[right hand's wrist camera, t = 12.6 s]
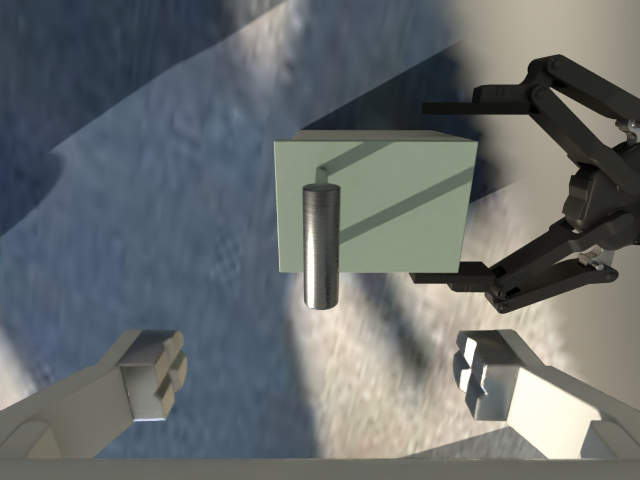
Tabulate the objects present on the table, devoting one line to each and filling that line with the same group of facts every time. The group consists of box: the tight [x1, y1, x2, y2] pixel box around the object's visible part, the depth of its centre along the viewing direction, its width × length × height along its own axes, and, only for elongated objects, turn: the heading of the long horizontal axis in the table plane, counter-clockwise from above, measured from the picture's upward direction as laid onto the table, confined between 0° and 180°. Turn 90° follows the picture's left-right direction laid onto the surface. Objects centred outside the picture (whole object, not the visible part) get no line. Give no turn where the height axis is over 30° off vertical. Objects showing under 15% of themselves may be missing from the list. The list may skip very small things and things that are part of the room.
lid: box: [274, 139, 478, 310], centre depth 21 cm, size 13×9×8 cm
